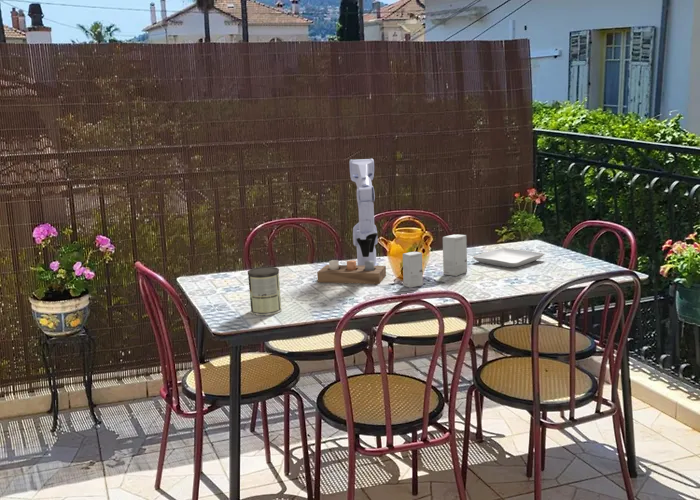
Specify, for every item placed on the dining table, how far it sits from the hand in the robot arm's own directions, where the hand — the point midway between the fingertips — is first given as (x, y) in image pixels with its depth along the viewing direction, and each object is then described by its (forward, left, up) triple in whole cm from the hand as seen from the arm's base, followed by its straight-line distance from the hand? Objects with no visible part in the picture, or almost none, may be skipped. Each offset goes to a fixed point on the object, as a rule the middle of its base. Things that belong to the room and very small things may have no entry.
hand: (368, 254), depth 273 cm
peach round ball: (0, -7, -7) cm, 10 cm away
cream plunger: (0, -14, -7) cm, 16 cm away
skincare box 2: (-12, +31, -10) cm, 35 cm away
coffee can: (+44, -25, -10) cm, 51 cm away
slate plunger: (0, 0, -7) cm, 7 cm away
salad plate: (-33, +50, -10) cm, 61 cm away
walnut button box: (0, -7, -10) cm, 12 cm away
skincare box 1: (+7, +18, -10) cm, 22 cm away
